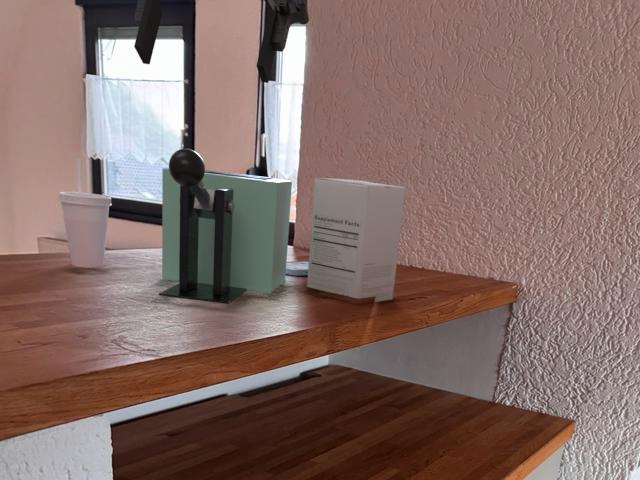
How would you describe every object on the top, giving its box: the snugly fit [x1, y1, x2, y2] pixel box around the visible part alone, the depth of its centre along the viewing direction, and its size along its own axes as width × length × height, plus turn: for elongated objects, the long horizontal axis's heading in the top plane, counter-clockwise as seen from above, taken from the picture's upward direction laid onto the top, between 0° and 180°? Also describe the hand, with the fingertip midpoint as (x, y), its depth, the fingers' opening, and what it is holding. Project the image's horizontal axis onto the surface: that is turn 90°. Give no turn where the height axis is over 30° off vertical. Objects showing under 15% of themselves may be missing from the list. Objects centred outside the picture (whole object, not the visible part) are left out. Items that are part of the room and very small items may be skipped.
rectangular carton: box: [306, 177, 406, 303], centre depth 98 cm, size 9×9×15 cm
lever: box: [168, 148, 216, 219], centre depth 79 cm, size 12×4×4 cm, turn 176°
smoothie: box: [57, 156, 113, 269], centre depth 93 cm, size 6×6×14 cm
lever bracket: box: [158, 185, 248, 305], centre depth 85 cm, size 10×8×13 cm
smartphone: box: [286, 260, 309, 276], centre depth 118 cm, size 7×1×15 cm
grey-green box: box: [161, 167, 293, 294], centre depth 95 cm, size 11×14×14 cm
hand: (201, 65), depth 79 cm, fingers open, 13 cm apart
